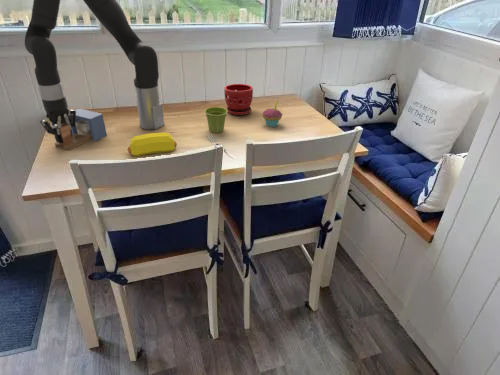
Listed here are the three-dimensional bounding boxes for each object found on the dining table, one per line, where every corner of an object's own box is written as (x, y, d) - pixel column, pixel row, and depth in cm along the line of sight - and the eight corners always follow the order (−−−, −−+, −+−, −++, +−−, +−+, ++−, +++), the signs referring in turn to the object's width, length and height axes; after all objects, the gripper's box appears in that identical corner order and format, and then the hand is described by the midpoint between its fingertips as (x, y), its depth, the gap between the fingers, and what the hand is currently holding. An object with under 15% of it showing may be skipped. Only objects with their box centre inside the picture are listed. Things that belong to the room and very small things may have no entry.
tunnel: (108, 134, 146) (104, 112, 142) (95, 141, 141) (90, 118, 136) (86, 128, 151) (81, 107, 146) (72, 134, 145) (66, 113, 140)
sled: (99, 135, 146) (95, 116, 141) (68, 150, 134) (63, 129, 130) (86, 131, 148) (82, 112, 144) (55, 146, 137) (49, 125, 132)
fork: (234, 164, 129) (234, 159, 128) (205, 138, 146) (205, 134, 145) (242, 162, 130) (242, 157, 130) (212, 137, 148) (212, 133, 147)
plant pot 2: (257, 110, 174) (258, 86, 167) (242, 119, 164) (242, 93, 158) (234, 105, 180) (235, 81, 173) (219, 113, 170) (218, 87, 164)
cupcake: (284, 123, 161) (286, 97, 155) (277, 130, 155) (278, 102, 148) (266, 119, 164) (267, 93, 158) (258, 126, 158) (259, 99, 151)
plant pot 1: (231, 128, 155) (230, 108, 151) (222, 136, 148) (222, 116, 143) (211, 124, 158) (210, 105, 153) (201, 132, 150) (200, 113, 146)
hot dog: (127, 150, 136) (129, 159, 130) (124, 133, 132) (126, 142, 126) (175, 144, 141) (179, 152, 135) (174, 128, 138) (177, 136, 131)
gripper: (42, 103, 120) (56, 150, 129) (77, 92, 131) (87, 136, 140) (27, 100, 122) (41, 146, 132) (62, 89, 133) (73, 132, 143)
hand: (65, 140), depth 136 cm, fingers closed on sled, 3 cm apart
